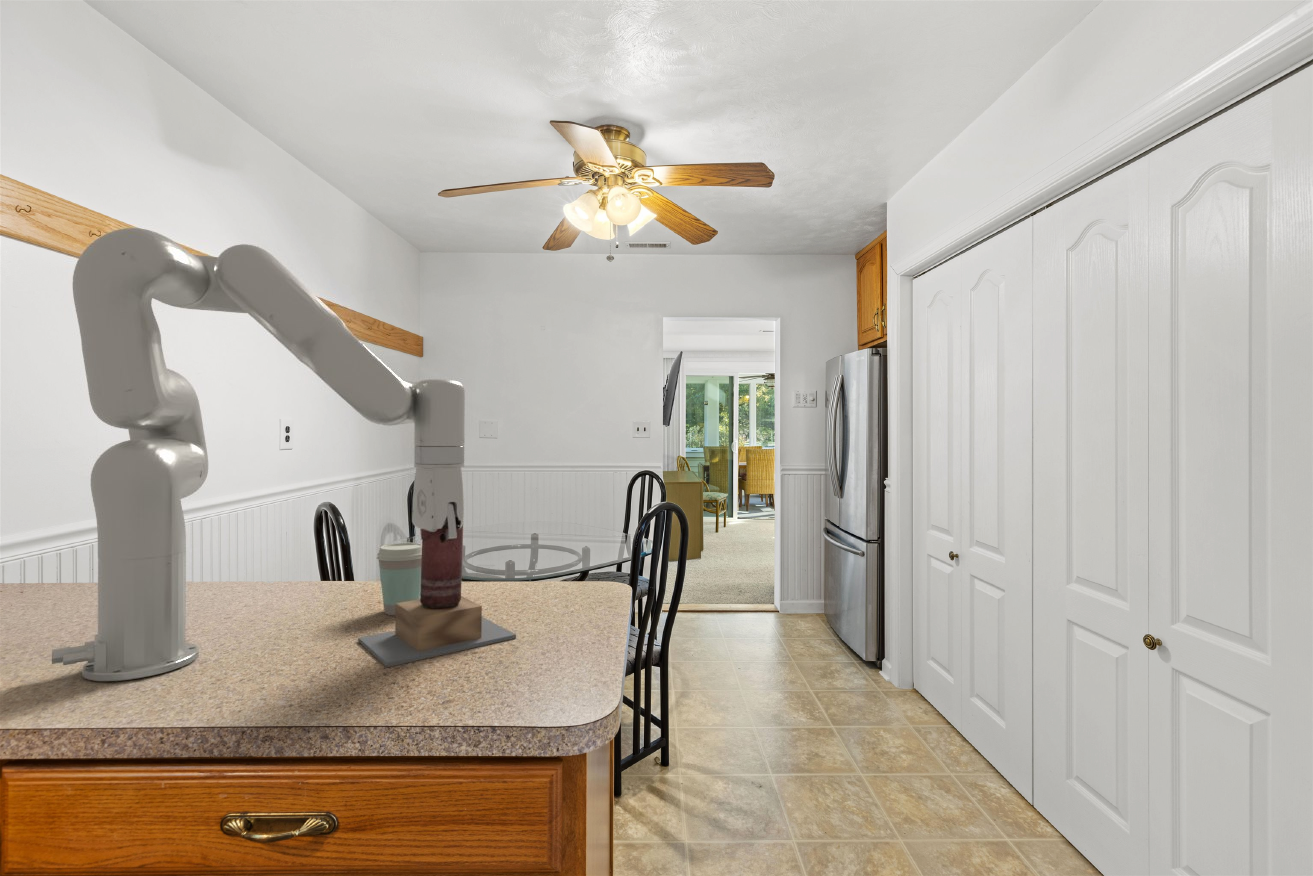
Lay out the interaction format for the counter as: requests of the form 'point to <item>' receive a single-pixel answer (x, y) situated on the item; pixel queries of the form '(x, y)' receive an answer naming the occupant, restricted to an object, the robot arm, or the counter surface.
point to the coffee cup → (400, 573)
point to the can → (441, 569)
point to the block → (437, 623)
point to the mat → (399, 652)
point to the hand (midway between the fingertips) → (438, 572)
